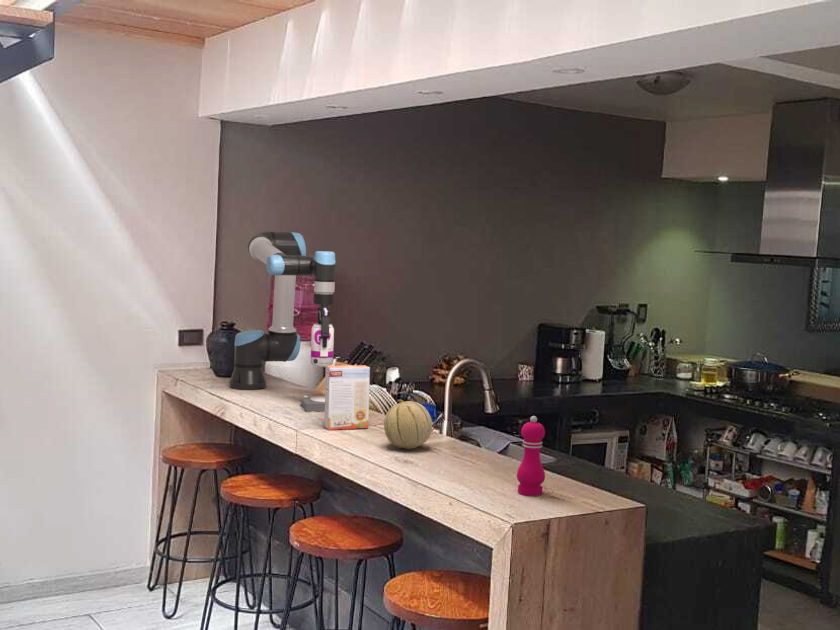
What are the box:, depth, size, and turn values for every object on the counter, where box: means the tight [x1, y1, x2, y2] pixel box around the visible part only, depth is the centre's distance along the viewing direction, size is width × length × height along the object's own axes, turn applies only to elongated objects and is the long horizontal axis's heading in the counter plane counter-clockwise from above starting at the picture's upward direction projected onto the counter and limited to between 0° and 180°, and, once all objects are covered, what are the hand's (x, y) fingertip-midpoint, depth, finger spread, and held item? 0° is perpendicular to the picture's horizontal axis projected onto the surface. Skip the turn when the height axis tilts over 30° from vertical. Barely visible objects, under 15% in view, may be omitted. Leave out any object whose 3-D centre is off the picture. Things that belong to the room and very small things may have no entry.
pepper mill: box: [516, 415, 546, 497], centre depth 247 cm, size 7×7×20 cm
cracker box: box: [323, 364, 371, 431], centre depth 322 cm, size 14×6×21 cm, turn 110°
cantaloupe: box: [383, 398, 433, 450], centre depth 295 cm, size 15×15×15 cm
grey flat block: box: [300, 394, 325, 412], centre depth 358 cm, size 14×16×4 cm
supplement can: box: [310, 323, 335, 367], centre depth 356 cm, size 8×8×15 cm
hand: (322, 354), depth 356 cm, fingers closed on supplement can, 8 cm apart
